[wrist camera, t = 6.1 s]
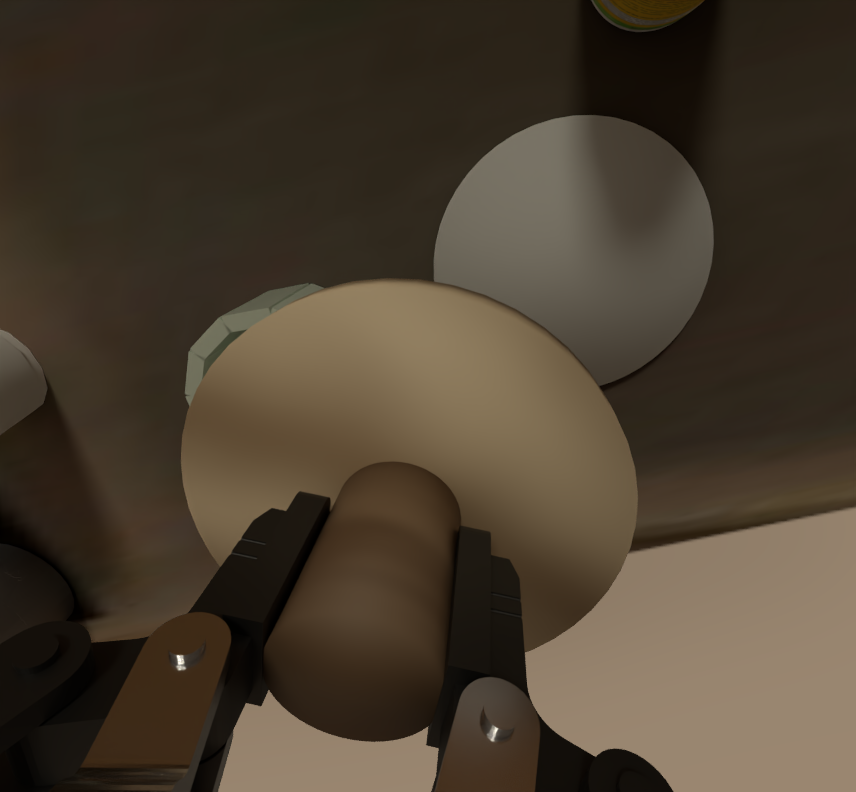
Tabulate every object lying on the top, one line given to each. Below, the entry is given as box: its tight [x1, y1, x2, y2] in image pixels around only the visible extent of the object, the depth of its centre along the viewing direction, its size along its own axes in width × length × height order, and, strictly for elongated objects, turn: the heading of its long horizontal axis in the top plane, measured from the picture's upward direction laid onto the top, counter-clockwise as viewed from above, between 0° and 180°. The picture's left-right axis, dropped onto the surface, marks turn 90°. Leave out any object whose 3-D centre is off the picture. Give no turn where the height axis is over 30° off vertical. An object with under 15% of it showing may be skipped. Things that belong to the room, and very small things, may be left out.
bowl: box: [185, 283, 324, 406], centre depth 26 cm, size 10×10×5 cm
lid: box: [181, 278, 638, 742], centre depth 11 cm, size 12×12×6 cm
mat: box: [434, 115, 714, 386], centre depth 23 cm, size 13×13×1 cm
